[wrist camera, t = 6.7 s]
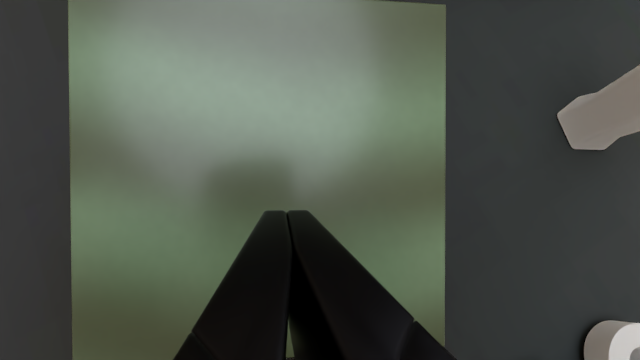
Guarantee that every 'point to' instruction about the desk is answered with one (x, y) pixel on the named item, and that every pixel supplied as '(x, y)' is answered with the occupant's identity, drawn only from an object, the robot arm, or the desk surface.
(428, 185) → the lid
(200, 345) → the robot arm
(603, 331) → the joystick
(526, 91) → the desk surface
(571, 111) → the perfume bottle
